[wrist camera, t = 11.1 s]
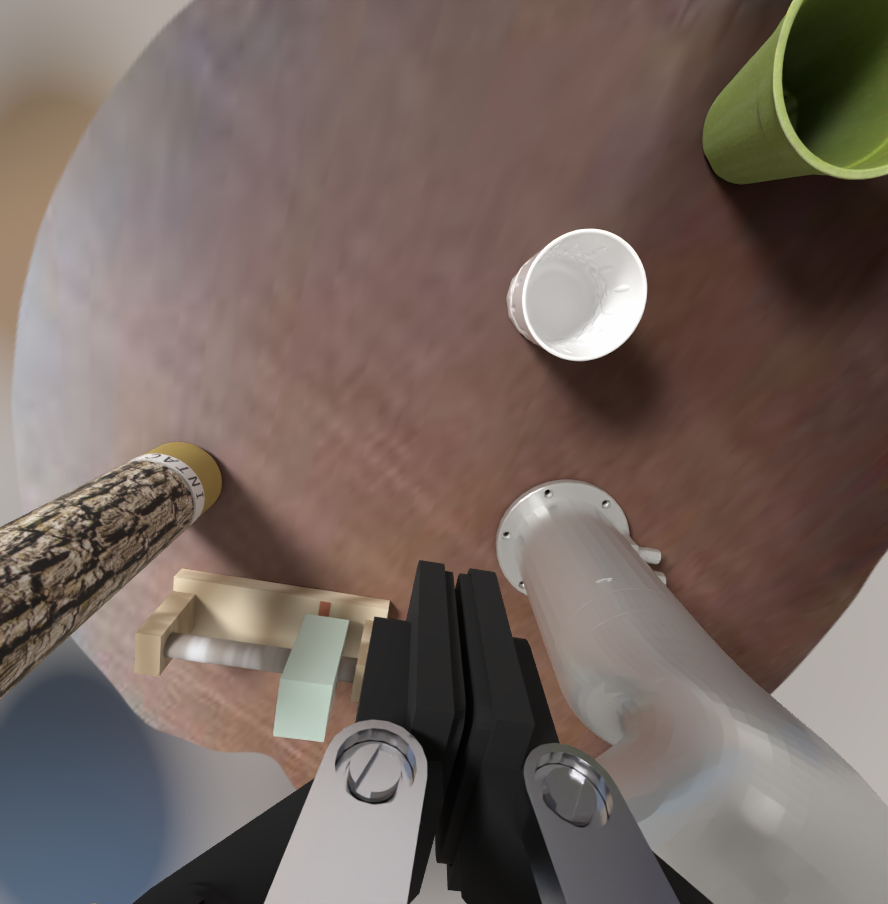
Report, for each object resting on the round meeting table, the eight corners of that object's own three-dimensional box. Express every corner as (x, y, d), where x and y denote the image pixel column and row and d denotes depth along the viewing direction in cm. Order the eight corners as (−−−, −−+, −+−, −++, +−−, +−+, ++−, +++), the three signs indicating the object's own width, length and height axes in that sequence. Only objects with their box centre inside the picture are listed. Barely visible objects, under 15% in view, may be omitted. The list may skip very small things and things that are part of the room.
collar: (349, 620, 44) (332, 685, 36) (341, 669, 46) (323, 742, 38) (306, 613, 44) (280, 678, 36) (299, 663, 45) (273, 735, 38)
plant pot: (829, 190, 38) (991, 142, 27) (682, 235, 38) (783, 206, 27) (821, 13, 34) (1003, -122, 23) (660, 66, 35) (764, -43, 24)
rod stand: (389, 600, 47) (382, 652, 40) (378, 658, 49) (370, 718, 42) (182, 568, 45) (135, 617, 38) (178, 629, 47) (134, 687, 40)
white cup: (612, 279, 39) (672, 270, 29) (561, 365, 41) (602, 382, 31) (530, 229, 38) (565, 202, 28) (481, 320, 40) (499, 324, 30)
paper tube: (205, 523, 44) (-59, 780, 20) (135, 487, 43) (-237, 714, 19) (238, 464, 42) (-6, 666, 18) (166, 425, 41) (-196, 586, 17)
